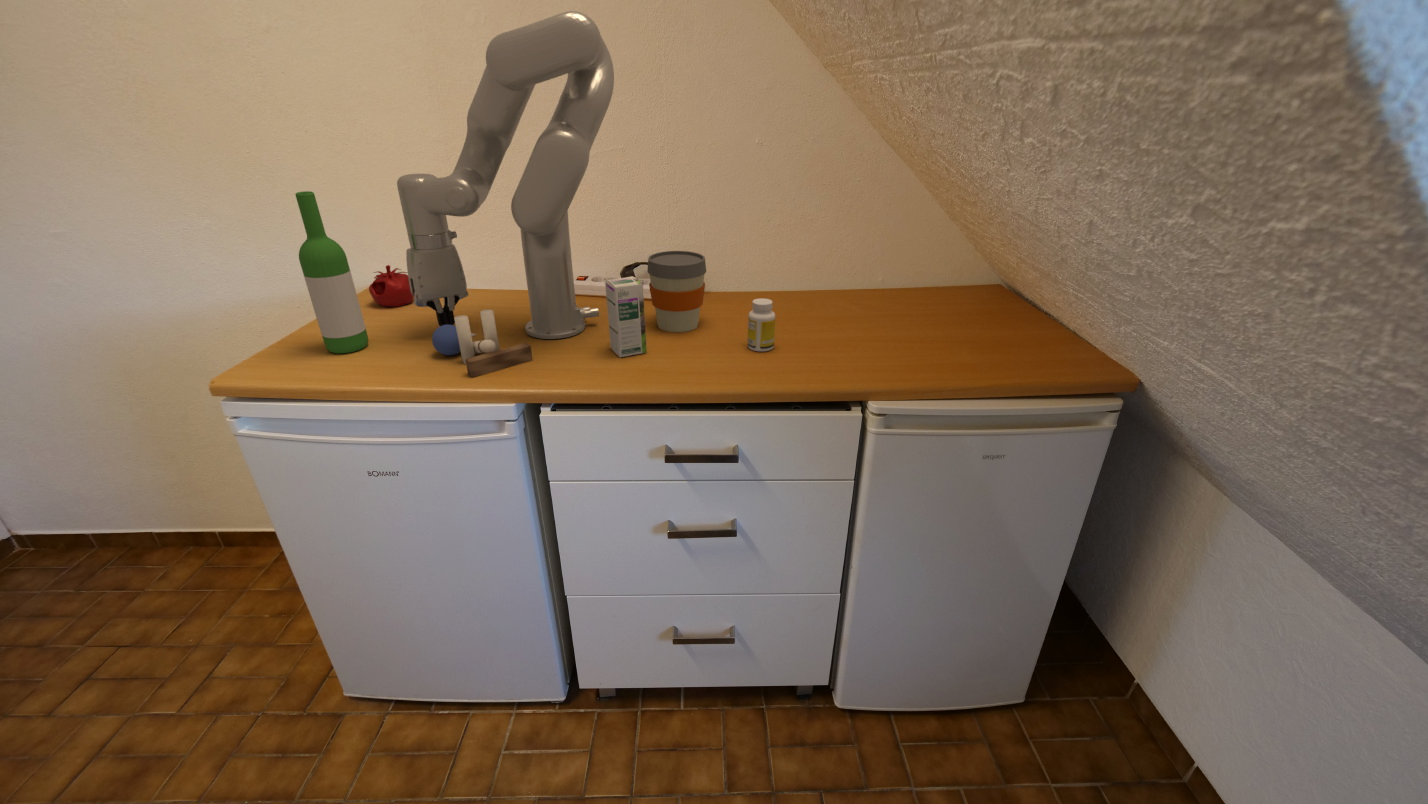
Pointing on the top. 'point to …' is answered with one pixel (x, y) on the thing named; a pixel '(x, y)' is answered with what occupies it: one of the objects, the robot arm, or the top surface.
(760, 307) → the supplement bottle
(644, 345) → the syrup box
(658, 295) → the reusable coffee cup
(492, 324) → the pin back near
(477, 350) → the pin front
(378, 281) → the pomegranate
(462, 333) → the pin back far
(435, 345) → the ball
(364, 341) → the wine bottle
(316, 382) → the top surface
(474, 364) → the back rail
